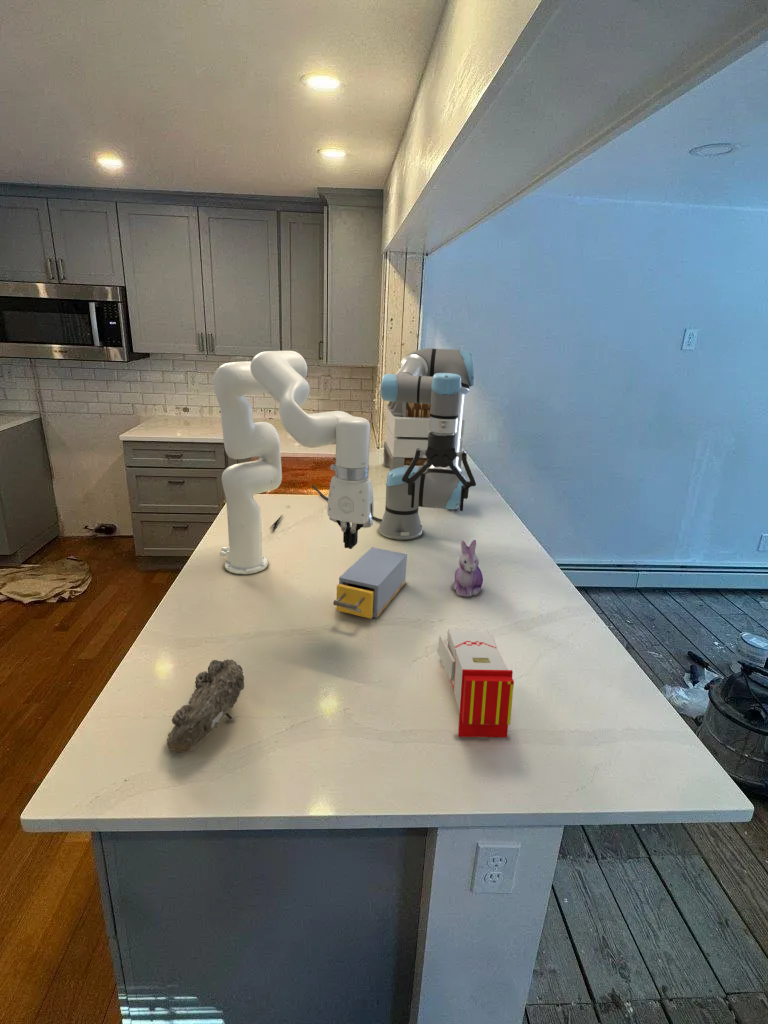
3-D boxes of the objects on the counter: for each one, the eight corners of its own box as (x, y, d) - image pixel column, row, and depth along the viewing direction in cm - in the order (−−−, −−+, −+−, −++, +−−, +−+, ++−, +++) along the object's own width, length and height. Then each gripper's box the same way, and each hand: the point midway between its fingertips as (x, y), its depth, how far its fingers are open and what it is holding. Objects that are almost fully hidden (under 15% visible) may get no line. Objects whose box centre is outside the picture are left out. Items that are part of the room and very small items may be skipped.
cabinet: (376, 618, 145) (378, 586, 142) (338, 608, 149) (339, 577, 146) (405, 583, 164) (407, 554, 161) (370, 575, 168) (371, 547, 165)
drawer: (361, 629, 138) (362, 603, 135) (326, 620, 141) (326, 595, 139) (398, 585, 161) (400, 562, 158) (367, 578, 164) (368, 555, 161)
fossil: (192, 660, 117) (244, 628, 112) (224, 691, 120) (276, 661, 115) (142, 746, 98) (202, 712, 93) (182, 779, 101) (242, 748, 96)
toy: (488, 613, 130) (523, 677, 101) (484, 667, 133) (517, 744, 104) (435, 612, 130) (455, 676, 101) (432, 666, 133) (451, 743, 103)
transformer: (382, 463, 289) (386, 382, 275) (445, 464, 293) (451, 384, 279) (390, 482, 257) (394, 392, 243) (460, 483, 261) (468, 394, 247)
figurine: (464, 601, 155) (469, 550, 150) (443, 585, 164) (448, 537, 159) (492, 594, 159) (497, 545, 154) (470, 579, 168) (475, 532, 163)
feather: (289, 509, 222) (291, 505, 221) (271, 533, 195) (274, 529, 195) (285, 506, 222) (288, 503, 221) (267, 531, 195) (270, 526, 195)
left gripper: (314, 471, 128) (314, 546, 134) (376, 481, 123) (373, 558, 129) (329, 464, 134) (329, 535, 141) (388, 472, 129) (385, 546, 136)
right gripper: (395, 433, 149) (391, 509, 156) (490, 438, 147) (482, 515, 154) (396, 427, 156) (393, 500, 163) (488, 432, 154) (480, 506, 162)
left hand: (350, 546), depth 135 cm, fingers closed
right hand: (436, 507), depth 159 cm, fingers open, 13 cm apart
